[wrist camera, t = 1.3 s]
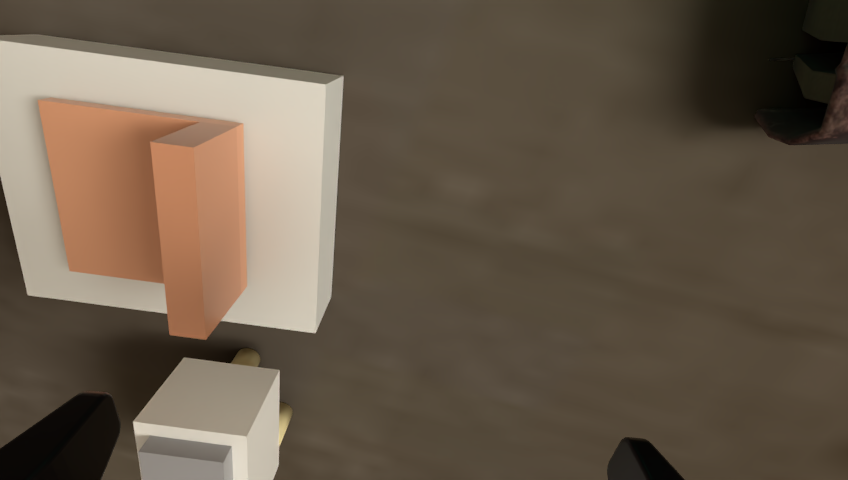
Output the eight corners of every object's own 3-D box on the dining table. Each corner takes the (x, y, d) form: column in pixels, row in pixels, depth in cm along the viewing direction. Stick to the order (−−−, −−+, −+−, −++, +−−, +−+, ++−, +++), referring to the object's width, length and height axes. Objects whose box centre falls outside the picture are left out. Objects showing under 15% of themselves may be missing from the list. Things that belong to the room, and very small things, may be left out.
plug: (292, 435, 27) (244, 558, 21) (208, 423, 27) (135, 544, 21) (294, 344, 25) (241, 453, 18) (201, 332, 25) (117, 437, 18)
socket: (331, 296, 23) (315, 333, 21) (77, 263, 23) (27, 295, 21) (343, 75, 19) (326, 84, 17) (36, 34, 19) (-32, 35, 17)
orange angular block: (247, 286, 20) (205, 339, 16) (80, 263, 20) (4, 313, 16) (243, 123, 17) (193, 147, 14) (51, 97, 17) (-46, 115, 14)
